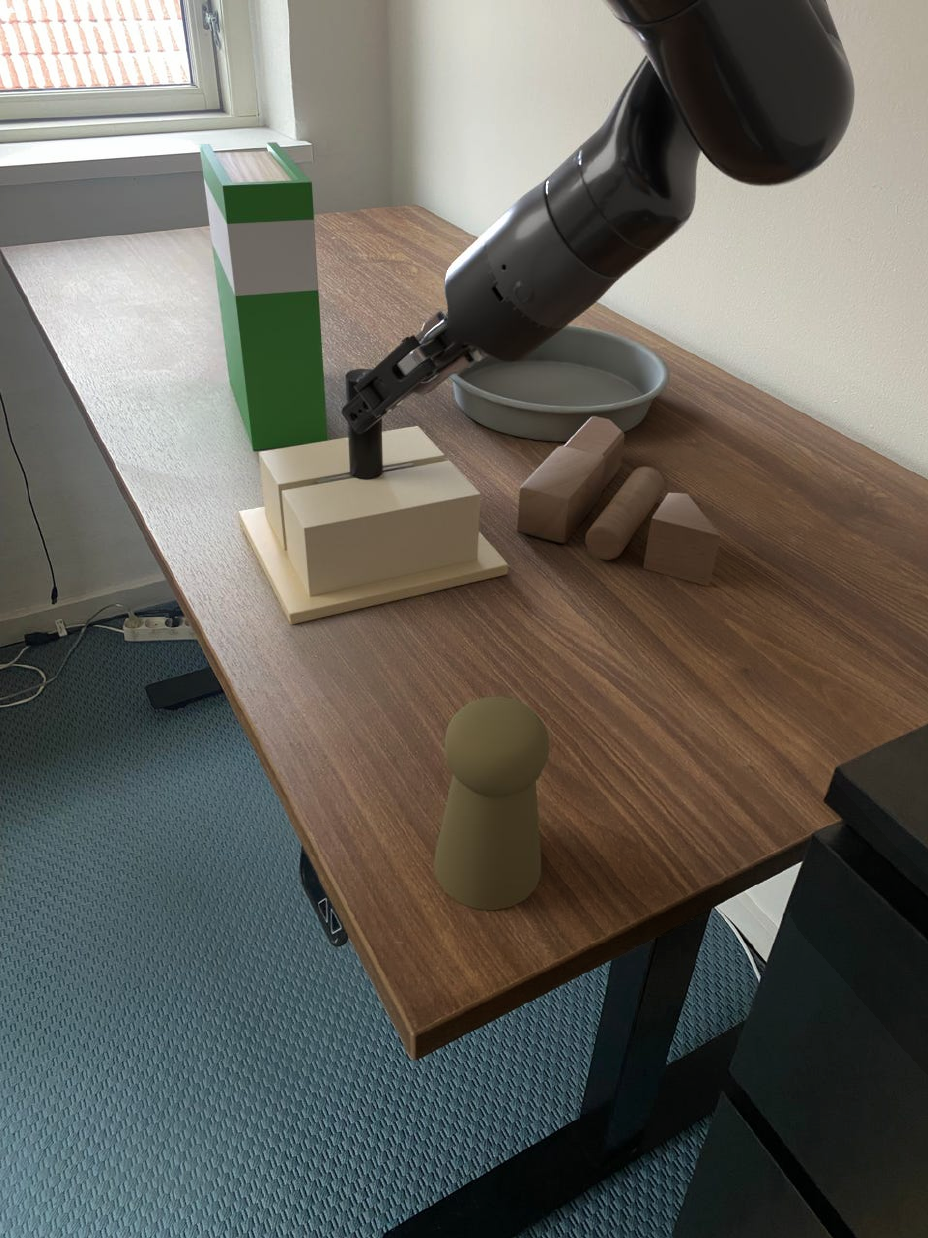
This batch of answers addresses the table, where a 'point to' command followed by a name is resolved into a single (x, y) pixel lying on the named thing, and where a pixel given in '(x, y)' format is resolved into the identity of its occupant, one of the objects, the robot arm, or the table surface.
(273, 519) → the slotted fixture
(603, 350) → the cake pan
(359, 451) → the knife
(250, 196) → the hardback book
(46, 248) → the table surface
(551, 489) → the wooden block set
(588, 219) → the robot arm
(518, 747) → the chess pawn figurine
